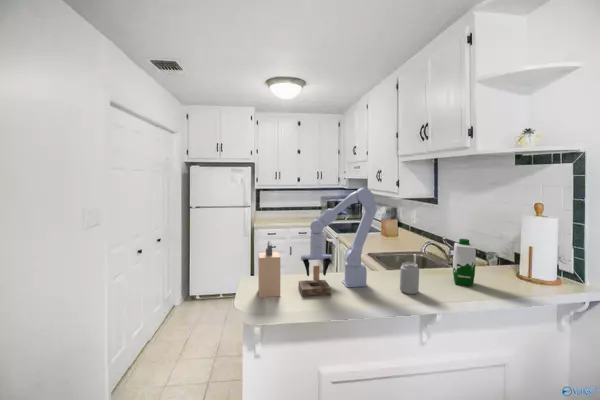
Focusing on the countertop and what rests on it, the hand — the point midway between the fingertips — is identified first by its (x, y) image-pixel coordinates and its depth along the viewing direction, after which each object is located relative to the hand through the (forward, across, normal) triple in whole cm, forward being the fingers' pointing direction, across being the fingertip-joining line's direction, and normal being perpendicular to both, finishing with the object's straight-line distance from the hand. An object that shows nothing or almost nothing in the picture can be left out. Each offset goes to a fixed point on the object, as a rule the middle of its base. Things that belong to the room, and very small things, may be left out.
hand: (316, 275), depth 137 cm
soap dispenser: (+4, +22, +11) cm, 25 cm away
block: (+4, +3, +10) cm, 11 cm away
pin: (+4, 0, 0) cm, 4 cm away
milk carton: (+3, -67, +10) cm, 68 cm away
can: (+4, -37, +16) cm, 41 cm away
